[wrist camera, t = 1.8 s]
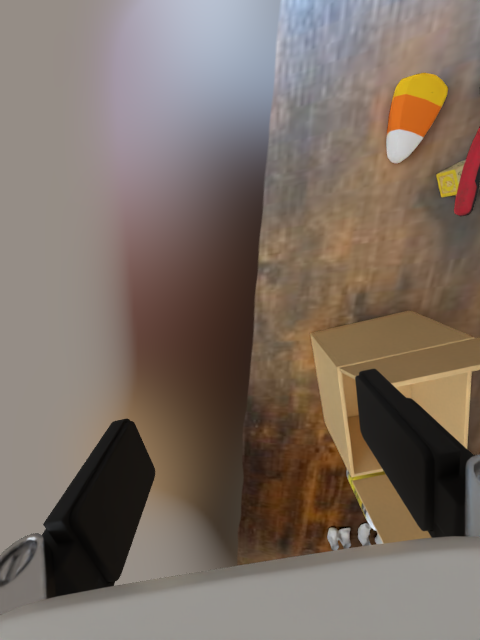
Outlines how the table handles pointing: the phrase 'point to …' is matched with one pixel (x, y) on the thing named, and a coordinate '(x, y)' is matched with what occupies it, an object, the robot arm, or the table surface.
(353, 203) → the table surface
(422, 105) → the candy corn
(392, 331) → the carton
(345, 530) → the vertebrae bone
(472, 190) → the pliers
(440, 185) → the alphabet block
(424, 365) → the flap
